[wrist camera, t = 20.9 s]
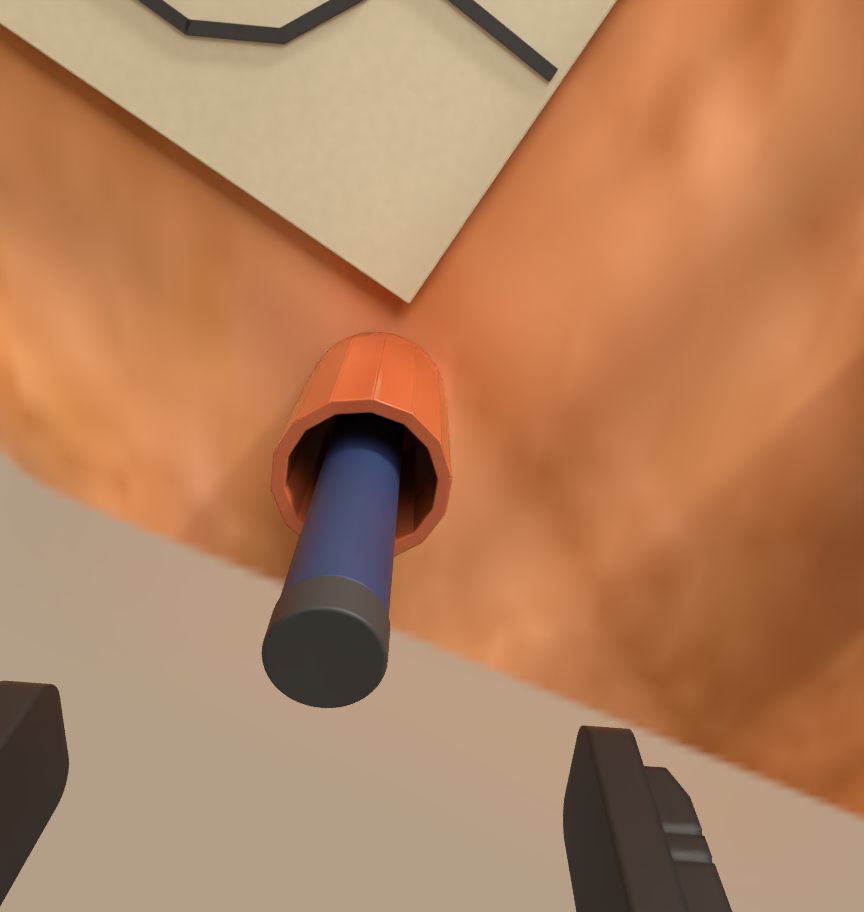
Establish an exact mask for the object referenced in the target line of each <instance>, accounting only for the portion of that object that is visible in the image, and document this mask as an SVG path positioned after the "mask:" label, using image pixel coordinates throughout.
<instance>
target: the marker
mask: <svg viewBox="0 0 864 912" xmlns="http://www.w3.org/2000/svg"><path fill="white" fill-rule="evenodd" d="M403 436H404V425H403V424H401V423H398V422H395V421H393V420H390V419H387V418H385V417H382V416H379V415H377V414H374V413H371V412H369V413H353V414H338V417H337V420H336V423H335V426H334V429H333V433H332V436H331V439H330V442H329V445H328V448H327V451H326V455H325V458H324V461H323V464H322V467H321V470H320V474H319V477H318V480H317V483H316V486H315V489H314V493H313V496H312V499H311V502H310V505H309V508H308V511H307V515H306V518H305V521H304V524H303V527H302V530H301V534H300V537H299V540H298V543H297V546H296V549H295V553H294V556H293V559H292V562H291V565H290V568H289V571H288V575H287V578H286V581H285V584H284V587H283V590H282V594H281V597H280V599H279V600H278V602H277V603H276V606H275V608H274V610H273V613H272V616H271V619H270V623H269V626H268V629H267V632H266V635H265V638H264V641H263V646H262V660H263V665H264V668H265V671H266V673H267V675H268V677H269V678H270V680H271V682H272V683H273V684H274V685H275V686H276V687H277V688H278V689H279V690H280V691H281V692H282V693H283V694H285V695H286V696H288V697H289V698H291V699H293V700H295V701H297V702H300V703H302V704H305V705H309V706H314V707H320V708H334V707H335V708H336V707H342V706H347V705H350V704H353V703H355V702H357V701H360V700H361V699H363V698H365V697H366V696H368V695H369V694H370V693H371V692H372V691H373V690H374V689H375V688H376V687H377V686H378V685H379V683H380V682H381V680H382V678H383V676H384V674H385V672H386V668H387V662H388V651H389V638H390V621H389V606H390V594H391V582H392V569H393V557H394V545H395V533H396V521H397V509H398V497H399V484H400V472H401V460H402V448H403Z"/></svg>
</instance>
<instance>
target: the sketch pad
mask: <svg viewBox="0 0 864 912" xmlns="http://www.w3.org/2000/svg"><path fill="white" fill-rule="evenodd" d="M616 1H617V0H0V24H1V25H2V26H4V27H5V28H7V29H8V30H10V31H11V32H12V33H14V34H15V35H17V36H18V37H20V38H21V39H23V40H24V41H26V42H27V43H28V44H30V45H31V46H33V47H34V48H36V49H37V50H39V51H40V52H42V53H43V54H44V55H46V56H47V57H49V58H50V59H52V60H53V61H55V62H56V63H58V64H59V65H61V66H62V67H63V68H65V69H66V70H68V71H69V72H71V73H72V74H74V75H75V76H77V77H78V78H79V79H81V80H82V81H84V82H85V83H87V84H88V85H90V86H91V87H93V88H94V89H96V90H97V91H98V92H100V93H101V94H103V95H104V96H106V97H107V98H109V99H110V100H112V101H113V102H114V103H116V104H117V105H119V106H120V107H122V108H123V109H125V110H126V111H128V112H129V113H130V114H132V115H133V116H135V117H136V118H138V119H139V120H141V121H142V122H144V123H145V124H147V125H148V126H149V127H151V128H152V129H154V130H155V131H157V132H158V133H160V134H161V135H163V136H164V137H165V138H167V139H168V140H170V141H171V142H173V143H174V144H176V145H177V146H179V147H180V148H182V149H183V150H184V151H186V152H187V153H189V154H190V155H192V156H193V157H195V158H196V159H198V160H199V161H200V162H202V163H203V164H205V165H206V166H208V167H209V168H211V169H212V170H214V171H215V172H217V173H218V174H219V175H221V176H222V177H224V178H225V179H227V180H228V181H230V182H231V183H233V184H234V185H235V186H237V187H238V188H240V189H241V190H243V191H244V192H246V193H247V194H249V195H250V196H251V197H253V198H254V199H256V200H257V201H259V202H260V203H262V204H263V205H265V206H266V207H268V208H269V209H270V210H272V211H273V212H275V213H276V214H278V215H279V216H281V217H282V218H284V219H285V220H286V221H288V222H289V223H291V224H292V225H294V226H295V227H297V228H298V229H300V230H301V231H303V232H304V233H305V234H307V235H308V236H310V237H311V238H313V239H314V240H316V241H317V242H319V243H320V244H321V245H323V246H324V247H326V248H327V249H329V250H330V251H332V252H333V253H335V254H336V255H337V256H339V257H340V258H342V259H343V260H345V261H346V262H348V263H349V264H351V265H352V266H354V267H355V268H356V269H358V270H359V271H361V272H362V273H364V274H365V275H367V276H368V277H370V278H371V279H372V280H374V281H375V282H377V283H378V284H380V285H381V286H383V287H384V288H386V289H387V290H389V291H390V292H391V293H393V294H394V295H396V296H397V297H399V298H400V299H402V300H403V301H405V302H406V303H408V304H409V303H411V301H412V300H413V298H414V297H415V295H416V294H417V292H418V291H419V289H420V288H421V286H422V285H423V284H424V282H425V281H426V279H427V278H428V276H429V275H430V273H431V272H432V270H433V269H434V267H435V266H436V265H437V263H438V262H439V260H440V259H441V257H442V256H443V254H444V253H445V251H446V250H447V248H448V247H449V246H450V244H451V243H452V241H453V240H454V238H455V237H456V235H457V234H458V232H459V231H460V229H461V228H462V227H463V225H464V224H465V222H466V221H467V219H468V218H469V216H470V215H471V213H472V212H473V210H474V209H475V208H476V206H477V205H478V203H479V202H480V200H481V199H482V197H483V196H484V194H485V193H486V191H487V190H488V189H489V187H490V186H491V184H492V183H493V181H494V180H495V178H496V177H497V175H498V174H499V172H500V171H501V170H502V168H503V167H504V165H505V164H506V162H507V161H508V159H509V158H510V156H511V155H512V153H513V152H514V151H515V149H516V148H517V146H518V145H519V143H520V142H521V140H522V139H523V137H524V136H525V134H526V133H527V132H528V130H529V129H530V127H531V126H532V124H533V123H534V121H535V120H536V118H537V117H538V115H539V114H540V113H541V111H542V110H543V108H544V107H545V105H546V104H547V102H548V101H549V99H550V98H551V96H552V95H553V94H554V92H555V91H556V89H557V88H558V86H559V85H560V83H561V82H562V80H563V79H564V77H565V76H566V75H567V73H568V72H569V70H570V69H571V67H572V66H573V64H574V63H575V61H576V60H577V58H578V57H579V56H580V54H581V53H582V51H583V50H584V48H585V47H586V45H587V44H588V42H589V41H590V39H591V38H592V37H593V35H594V34H595V32H596V31H597V29H598V28H599V26H600V25H601V23H602V22H603V20H604V19H605V18H606V16H607V15H608V13H609V12H610V10H611V9H612V7H613V6H614V4H615V3H616Z"/></svg>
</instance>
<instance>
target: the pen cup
mask: <svg viewBox="0 0 864 912" xmlns="http://www.w3.org/2000/svg"><path fill="white" fill-rule="evenodd" d="M369 412H371V413H374V414H377V415H379V416H382V417H385V418H387V419H390V420H393V421H395V422H398V423H401V424H403V425H404V436H403V448H402V460H401V472H400V484H399V497H398V509H397V521H396V533H395V545H394V556H396V555H398V554H400V553H402V552H404V551H406V550H408V549H410V548H412V547H414V546H416V545H418V544H420V543H422V541H424V540H425V539H426V538H427V537H428V535H429V534H430V533H431V531H432V530H433V529H434V528H435V526H436V525H437V524H438V523H439V521H440V520H441V519H442V518H443V516H444V515H445V513H446V510H447V505H448V499H449V494H450V489H451V483H452V467H451V453H450V438H449V423H448V408H447V398H446V394H445V390H444V385H443V381H442V378H441V375H440V373H439V371H438V369H437V367H436V365H435V364H434V362H433V361H432V360H431V358H430V357H429V356H428V355H427V354H426V353H425V352H424V351H423V350H422V349H421V348H419V347H418V346H417V345H415V344H414V343H412V342H410V341H408V340H406V339H404V338H402V337H399V336H396V335H392V334H387V333H363V334H359V335H355V336H352V337H349V338H347V339H345V340H343V341H341V342H339V343H338V344H336V345H335V346H334V347H332V348H331V349H330V350H329V351H328V352H327V353H326V354H325V355H324V356H323V357H322V359H321V360H320V361H319V363H318V365H317V366H316V368H315V370H314V372H313V373H312V375H311V376H310V378H309V380H308V382H307V384H306V386H305V388H304V390H303V392H302V394H301V396H300V398H299V400H298V403H297V405H296V407H295V409H294V411H293V413H292V415H291V417H290V419H289V421H288V423H287V426H286V428H285V430H284V432H283V434H282V436H281V438H280V440H279V442H278V444H277V446H276V448H275V451H274V454H273V465H272V477H271V491H272V493H273V496H274V498H275V500H276V503H277V505H278V507H279V510H280V512H281V514H282V517H283V519H284V521H285V523H286V524H287V525H288V526H289V527H290V528H291V529H292V530H293V531H294V532H296V533H297V534H298V535H299V536H300V534H301V530H302V527H303V524H304V521H305V518H306V515H307V511H308V508H309V505H310V502H311V499H312V496H313V493H314V489H315V486H316V483H317V480H318V477H319V474H320V470H321V467H322V464H323V461H324V458H325V455H326V451H327V448H328V445H329V442H330V439H331V436H332V433H333V429H334V426H335V423H336V420H337V417H338V414H353V413H369Z"/></svg>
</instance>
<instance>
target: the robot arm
mask: <svg viewBox="0 0 864 912" xmlns="http://www.w3.org/2000/svg"><path fill="white" fill-rule="evenodd" d="M68 768H69V758H68V750H67V744H66V737H65V730H64V723H63V716H62V709H61V702H60V695H59V691H58V689H57V687H56V686H54V685H52V684H41V683H28V682H14V681H1V682H0V906H1V904H2V902H3V900H4V899H5V897H6V895H7V893H8V892H9V890H10V888H11V886H12V884H13V882H14V881H15V879H16V877H17V876H18V874H19V872H20V870H21V868H22V867H23V865H24V863H25V861H26V860H27V858H28V856H29V855H30V853H31V851H32V849H33V848H34V846H35V844H36V842H37V840H38V839H39V837H40V835H41V833H42V832H43V830H44V828H45V826H46V825H47V823H48V821H49V819H50V818H51V816H52V814H53V812H54V810H55V809H56V807H57V805H58V803H59V801H60V799H61V797H62V794H63V792H64V788H65V785H66V780H67V776H68ZM563 828H564V829H563V830H564V841H565V847H566V853H567V859H568V864H569V871H570V876H571V882H572V888H573V894H574V900H575V906H576V912H732V910H731V908H730V905H729V902H728V899H727V896H726V894H725V891H724V888H723V886H722V883H721V880H720V877H719V875H718V872H717V869H716V866H715V864H713V863H712V856H711V853H710V850H709V848H708V845H707V842H706V839H705V837H704V836H702V828H701V826H700V823H699V820H698V818H697V815H696V812H695V810H694V807H693V804H692V801H691V799H690V796H689V795H688V794H687V793H686V792H685V790H684V789H683V788H682V787H681V786H680V784H679V783H678V782H677V781H676V779H675V778H674V777H673V776H672V775H671V773H670V772H669V771H668V770H667V769H666V768H662V767H648V766H644V765H643V762H642V759H641V756H640V752H639V749H638V746H637V743H636V740H635V737H634V734H633V733H632V731H631V730H630V729H622V728H609V727H595V726H581V727H580V729H579V732H578V735H577V740H576V745H575V749H574V755H573V759H572V764H571V769H570V774H569V779H568V783H567V788H566V793H565V798H564V809H563Z"/></svg>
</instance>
